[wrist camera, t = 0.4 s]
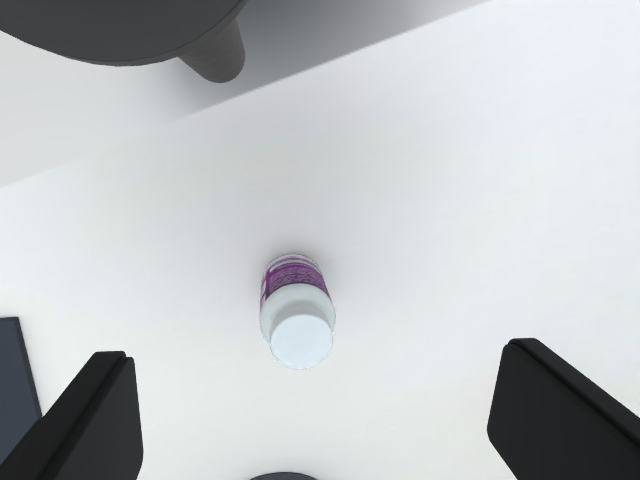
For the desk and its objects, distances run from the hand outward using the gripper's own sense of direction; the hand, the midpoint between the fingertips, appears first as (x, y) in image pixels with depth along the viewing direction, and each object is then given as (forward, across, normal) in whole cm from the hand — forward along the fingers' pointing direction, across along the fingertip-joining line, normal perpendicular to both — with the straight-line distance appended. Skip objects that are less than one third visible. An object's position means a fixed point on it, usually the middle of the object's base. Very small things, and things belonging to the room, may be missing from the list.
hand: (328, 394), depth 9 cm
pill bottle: (+22, -1, +6) cm, 23 cm away
